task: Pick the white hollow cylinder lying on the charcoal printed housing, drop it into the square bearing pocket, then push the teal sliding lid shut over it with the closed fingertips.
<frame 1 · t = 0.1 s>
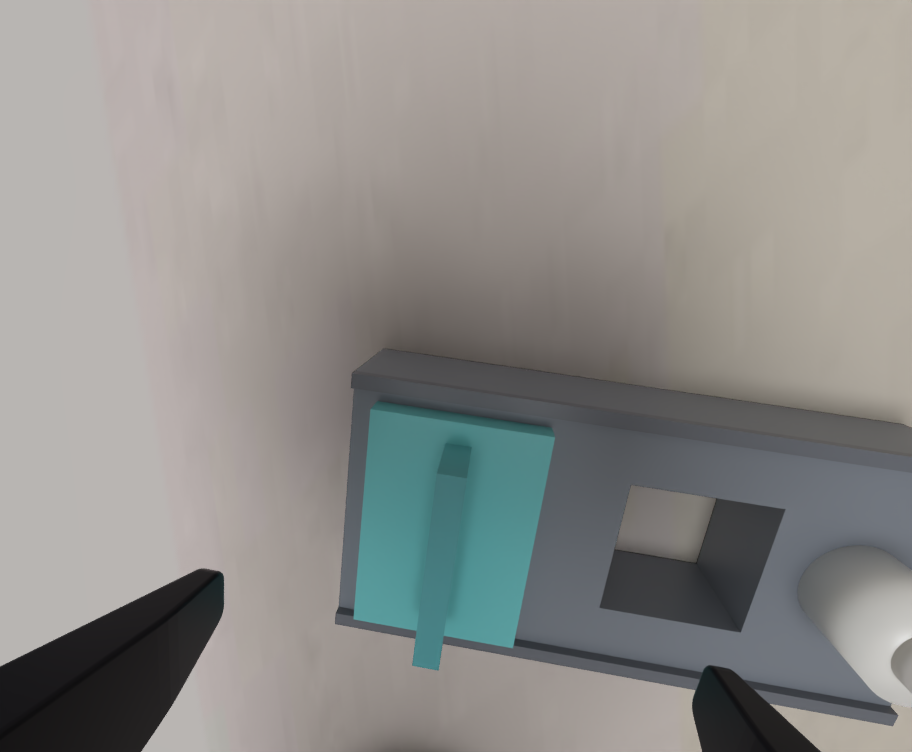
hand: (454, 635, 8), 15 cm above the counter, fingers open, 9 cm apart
lid: (443, 547, 17), point 6 cm above the counter, slide at 0.0 cm
white hollow cylinder: (851, 588, 18), point 4 cm above the counter, touching housing
housing: (607, 496, 23), on the counter
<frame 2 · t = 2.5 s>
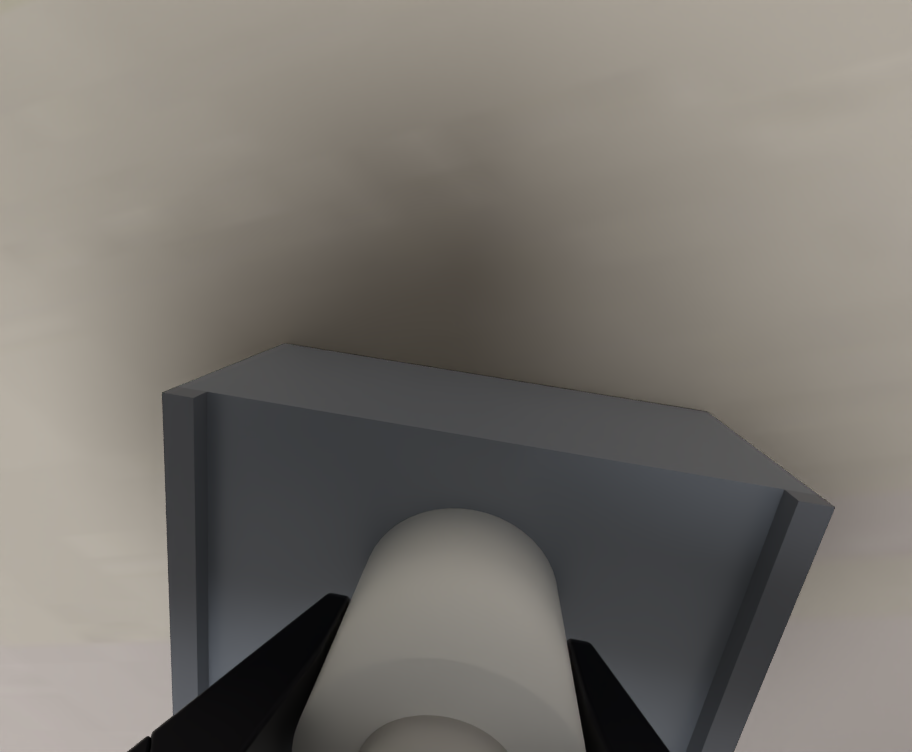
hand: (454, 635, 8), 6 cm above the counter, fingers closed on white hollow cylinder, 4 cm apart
white hollow cylinder: (458, 594, 9), point 5 cm above the counter, touching gripper, housing
housing: (434, 707, 16), on the counter
when the fingers open (5 cm above the counter, at t = 6.0 s): white hollow cylinder drops 4 cm, resting in housing.
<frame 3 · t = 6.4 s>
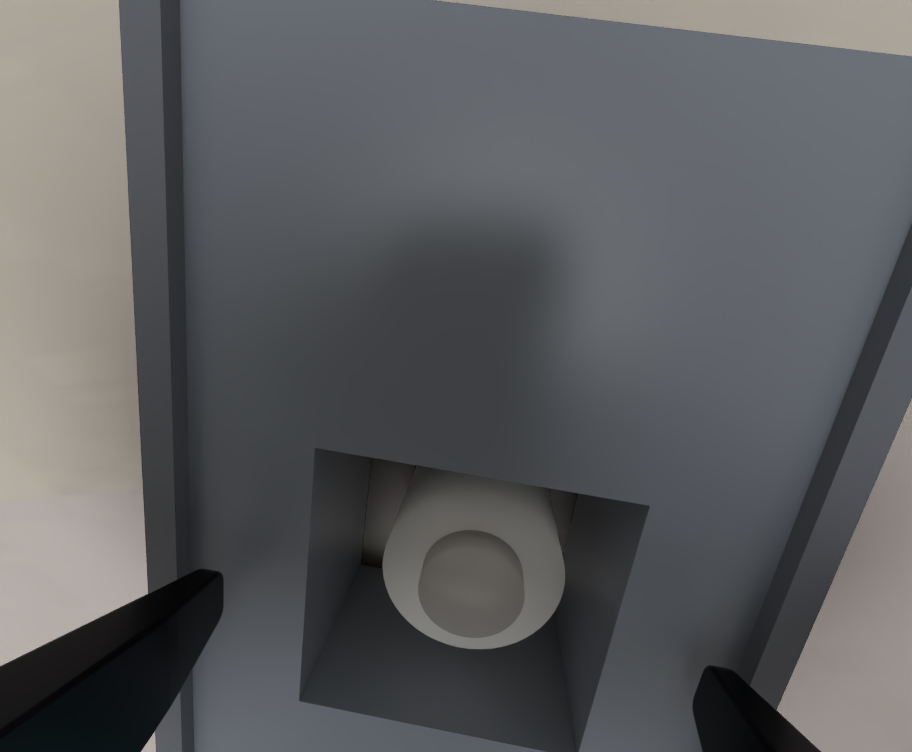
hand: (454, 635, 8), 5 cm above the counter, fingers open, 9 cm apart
white hollow cylinder: (478, 496, 13), resting in housing
housing: (458, 561, 14), on the counter
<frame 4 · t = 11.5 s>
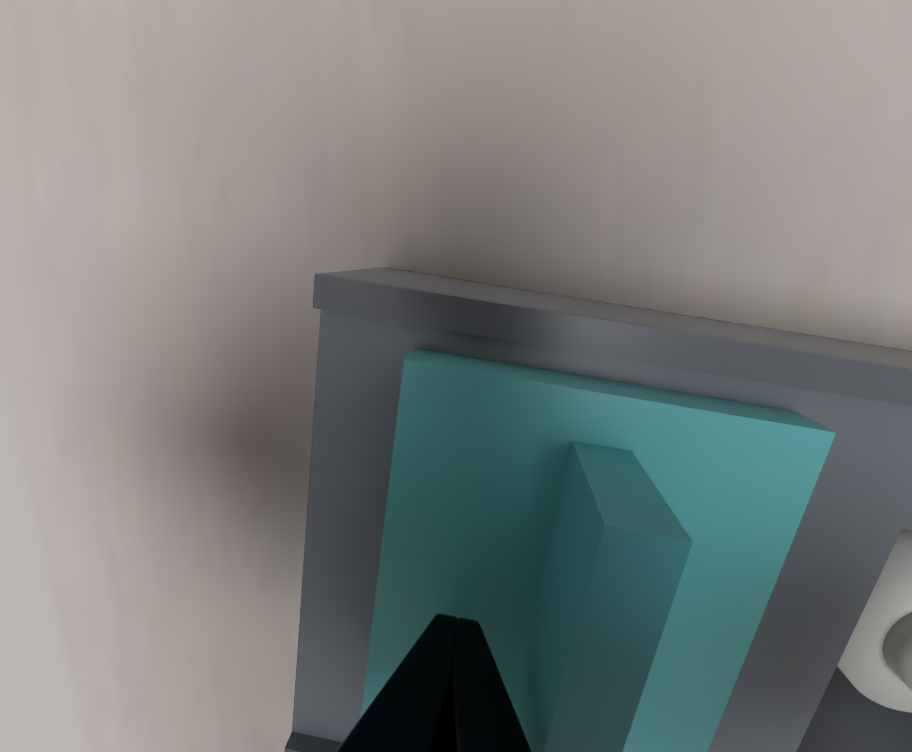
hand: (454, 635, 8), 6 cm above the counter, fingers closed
lid: (557, 670, 8), point 6 cm above the counter, slide at 0.9 cm, touching gripper
white hollow cylinder: (831, 552, 14), resting in housing
housing: (759, 532, 14), on the counter
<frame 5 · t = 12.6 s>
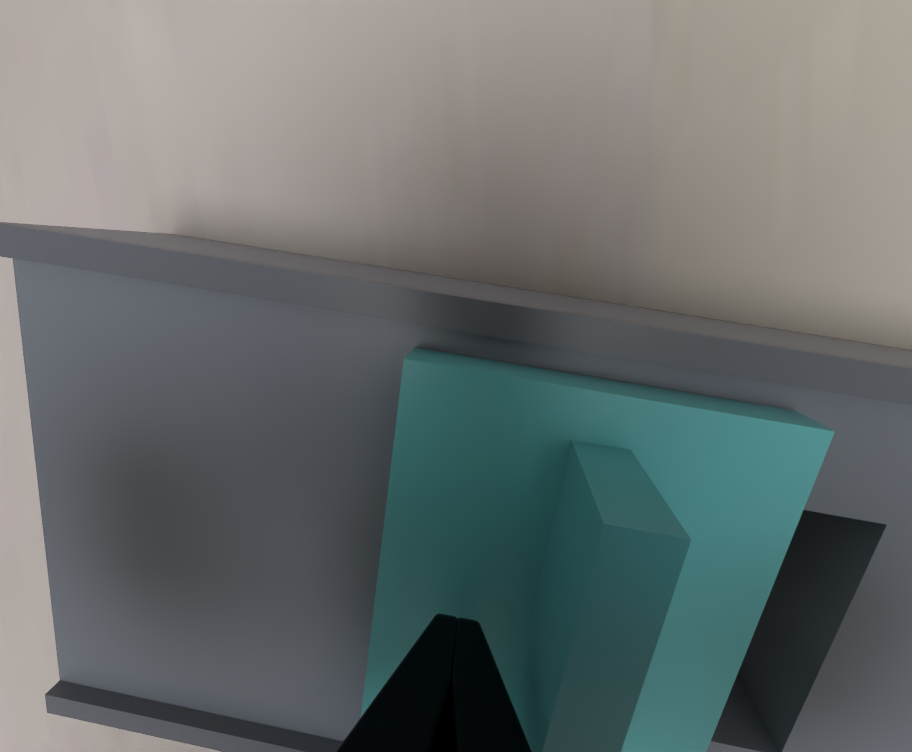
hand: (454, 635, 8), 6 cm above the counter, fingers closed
lid: (557, 669, 8), point 6 cm above the counter, slide at 7.1 cm, touching gripper
housing: (552, 494, 14), on the counter
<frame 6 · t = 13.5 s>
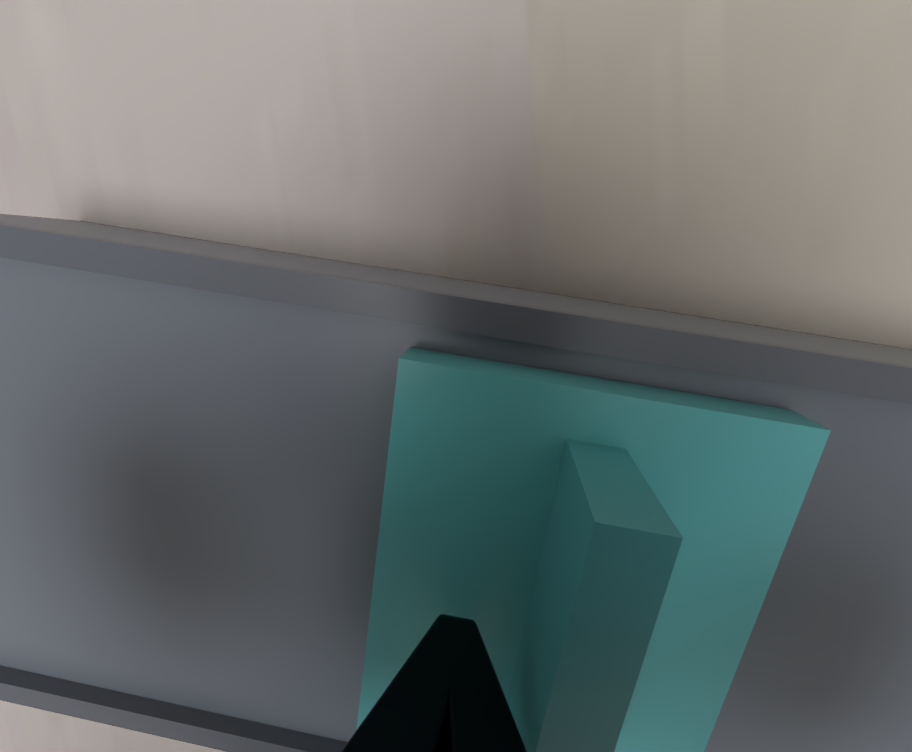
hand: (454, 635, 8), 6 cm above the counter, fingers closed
lid: (553, 668, 8), point 6 cm above the counter, slide at 10.1 cm, touching gripper
housing: (458, 477, 14), on the counter
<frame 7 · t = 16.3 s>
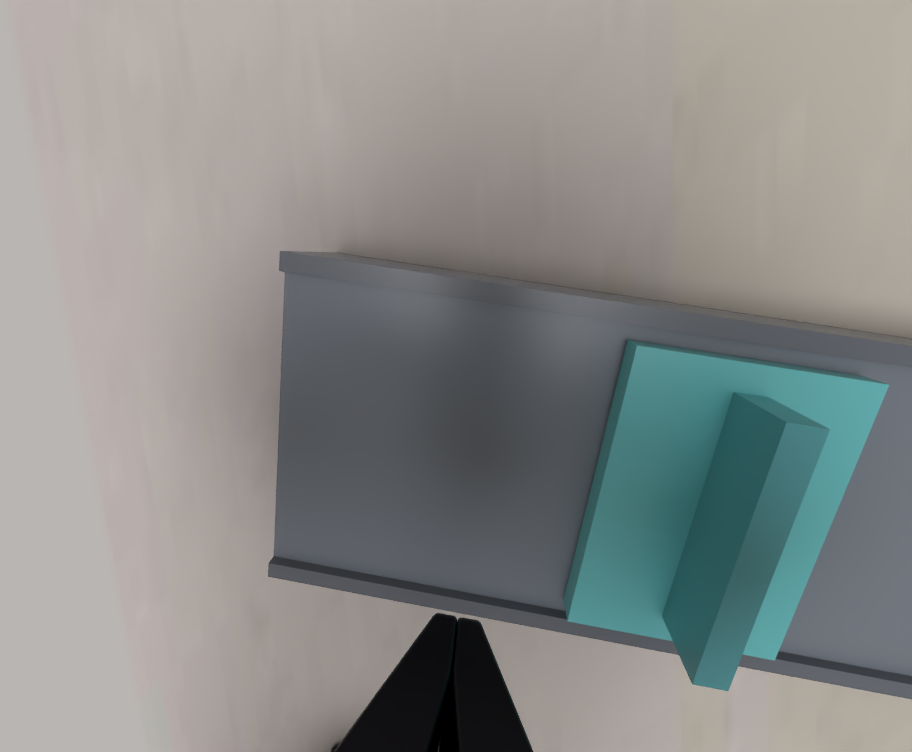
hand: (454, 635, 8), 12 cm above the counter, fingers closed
lid: (722, 529, 13), point 6 cm above the counter, slide at 10.0 cm
housing: (600, 435, 20), on the counter
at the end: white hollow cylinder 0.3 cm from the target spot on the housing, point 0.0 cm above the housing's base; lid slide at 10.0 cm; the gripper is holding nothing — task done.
